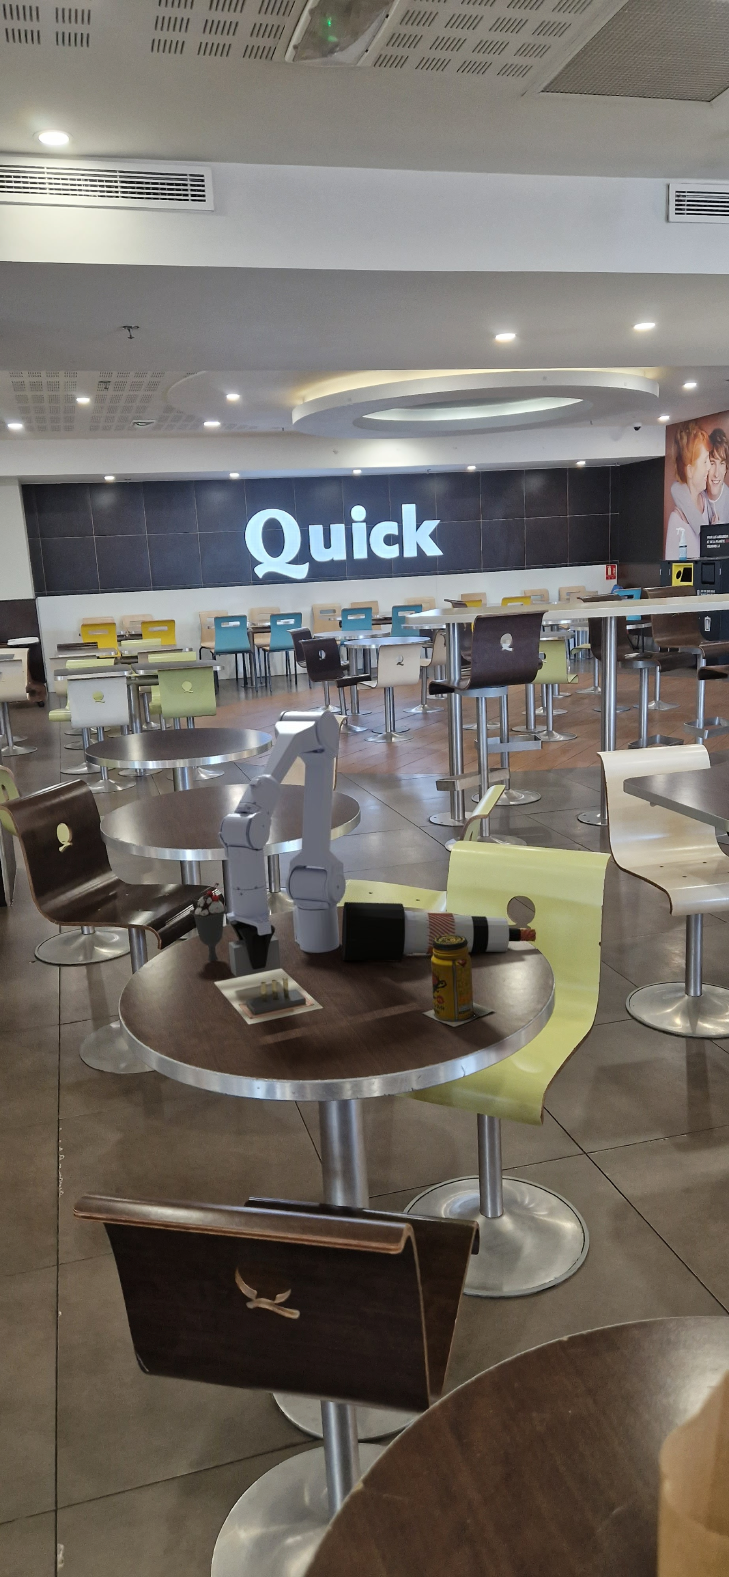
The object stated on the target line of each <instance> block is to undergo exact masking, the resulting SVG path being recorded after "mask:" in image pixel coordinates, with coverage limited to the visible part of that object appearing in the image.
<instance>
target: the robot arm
mask: <svg viewBox="0 0 729 1577" xmlns="http://www.w3.org/2000/svg"><path fill="white" fill-rule="evenodd" d="M273 728H274V731H273V732H274V738H275V741H274V744H273V746H272V749H271V751H270V753H269V756H268V758H267V761H266V763H265V766H264V769H263V770H262V773H261V775H257V776H254V777H252V778H251V780H250V782H249V784H248V785H247V787H246V789H245V791H244V792H243V795H242V797H241V798H240V801H239V803H238V804H237V806H236V807H235V809H234V812H231V813H228V814H227V815H226V816H225V817H223V818H222V820H221V823H220V825H219V832H218V833H217V834H218V840H219V842H220V844H221V845H222V846H223V850H224V856H225V857H226V859H228V865H229V868H228V869H229V876H230V877H229V878H230V888H231V900H232V908H233V909H232V911H231V912H227V913H225V914H226V919H227V920H228V921H230V922H229V925H231V928H232V929H233V930H234V932H235V935H236V936H237V939H238V941H239V940H244V941H245V944H246V947H247V950H248V955H249V959H250V963H251V966H252V968H253V969H254V970H255V969H260V968H265V966H266V961H267V955H268V948H269V944H270V941H271V938H272V936H273V935H274V934H275V932H276V927H275V926H274V925H272V923H271V921H270V916H271V915H270V914H271V912H270V911H271V910H270V908H269V904H268V903H269V900H268V888H267V877H266V876H267V875H266V863H265V853H264V847H265V846H266V845H267V843H268V842H269V839H270V835H271V826H272V822H273V820H272V815H273V814H274V812H275V810H276V808H277V806H278V804H279V803H280V800H281V799H282V797H283V789H282V787H281V783H283V780H284V779H285V777H286V776H287V774H288V772H290V770H291V767H292V766H293V765H294V763H295V761H296V760H297V758H300V759H301V761H302V762H303V763H304V784H303V786H304V787H303V789H304V790H303V791H304V792H303V805H302V806H303V809H302V811H303V812H302V835H301V850H300V852H298V853H297V854H296V855H294V856H293V857H292V858H291V859H290V861H289V868H288V873H287V875H286V877H285V878H286V879H285V892H286V894H287V896H288V898H289V899H290V900H292V901H293V906H294V908H293V911H292V920H293V931H294V932H293V934H294V942H295V943H297V944H298V945H299V948H300V950H302V951H303V952H306V953H314V954H315V953H317V954H319V953H327V952H331V951H334V950H336V949H337V948H339V946H340V934H339V933H340V932H339V917H338V904H339V903H341V901H342V900H343V897H344V896H345V894H346V889H347V888H346V886H347V885H346V884H347V883H346V877H345V874H344V871H345V870H344V862H343V861H341V859H340V858H338V857H337V856H336V855H335V854H334V853H333V852H332V851H331V841H332V840H331V839H332V816H333V798H334V797H333V793H334V792H333V791H334V789H333V788H334V774H335V773H334V772H335V759H336V758H337V757H339V748H340V723H339V722H338V720H337V718H336V716H335V714H334V713H333V711H330V710H323V711H319V710H317V711H315V710H314V711H313V710H311V711H307V710H306V711H303V710H302V711H295V710H294V711H292V710H283V711H281V713H280V714H279V715H278V718H277V720H276V723H275V724H274V727H273ZM313 867H315V868H313ZM316 867H317V868H316ZM318 867H319V868H318Z"/></svg>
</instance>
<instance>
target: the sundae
mask: <svg viewBox="0 0 729 1577" xmlns="http://www.w3.org/2000/svg"><path fill="white" fill-rule="evenodd" d="M218 886H220V883H219V882H215V884H214V885H213V887H211V889H210V890H208V891H207V892H206V894H205V895H204V894H203V895H202V896H200V898H199V899H198V900H197V899H193V898H191V899H190V902H191V905H192V908H193V909H190V910H189V914H190V915H192V916H193V917H194V921H195V925H196V929H197V934H198V938H199V941H201V943H202V944H204V945H205V946H207V948H208V957H207V961H209V962H215V961H218V960H219V957H218V956H217V953H216V952H217V951H216V946H217V945H218V944H219V943H220V942H221V940H222V939H223V935H224V934H223V933H224V917H225V914H227V913H228V907H227V905H225V904H223V902H222V901H220V900H219V899H220V897H219V895H217V894H216V888H217V887H218Z"/></svg>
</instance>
